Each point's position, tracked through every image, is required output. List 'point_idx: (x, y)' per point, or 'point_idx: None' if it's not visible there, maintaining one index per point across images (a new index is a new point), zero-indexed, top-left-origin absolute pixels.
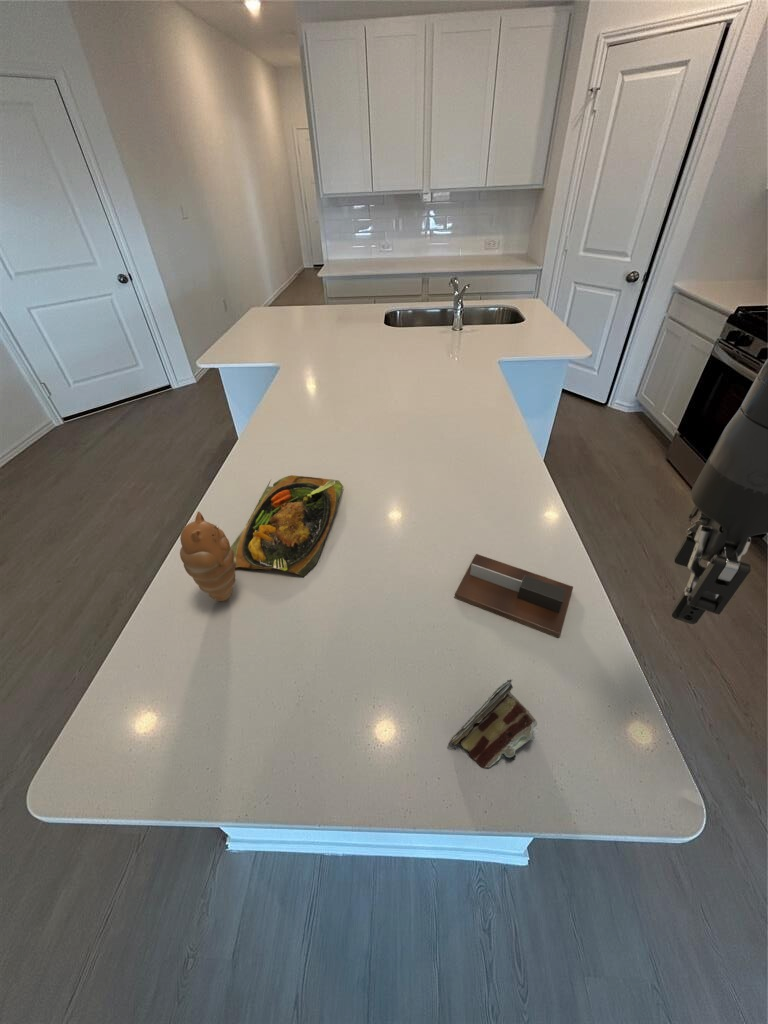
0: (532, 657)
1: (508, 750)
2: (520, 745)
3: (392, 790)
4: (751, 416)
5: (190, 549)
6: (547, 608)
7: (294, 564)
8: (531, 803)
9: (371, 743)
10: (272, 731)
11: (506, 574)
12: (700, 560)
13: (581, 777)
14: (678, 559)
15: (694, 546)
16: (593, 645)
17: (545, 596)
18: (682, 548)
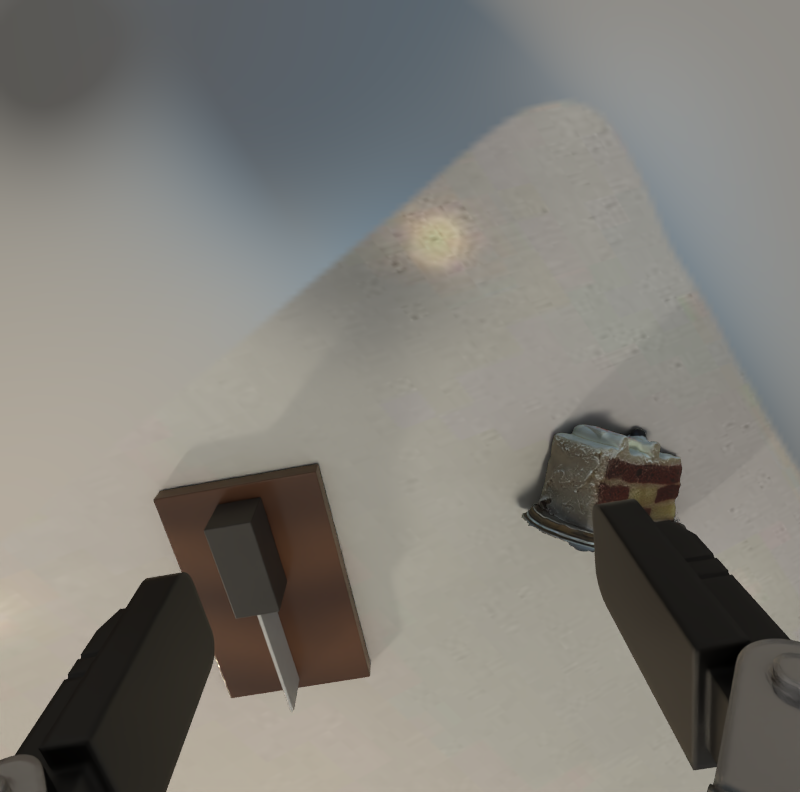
0: (404, 486)
1: (657, 455)
2: (631, 440)
3: (784, 553)
4: None
5: None
6: (267, 521)
7: None
8: (695, 370)
9: None
10: None
11: (238, 625)
12: (156, 615)
13: (601, 313)
14: (203, 664)
15: (139, 759)
16: (281, 395)
17: (263, 557)
18: (176, 755)
